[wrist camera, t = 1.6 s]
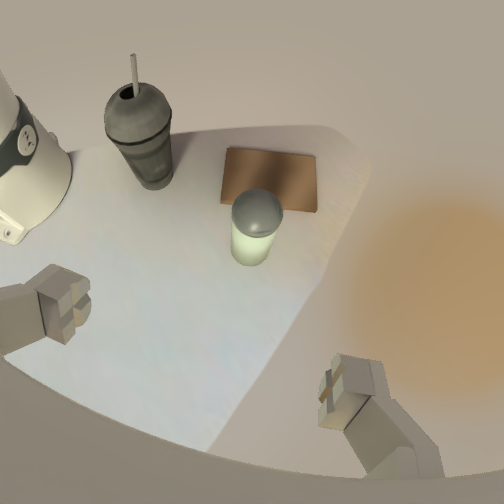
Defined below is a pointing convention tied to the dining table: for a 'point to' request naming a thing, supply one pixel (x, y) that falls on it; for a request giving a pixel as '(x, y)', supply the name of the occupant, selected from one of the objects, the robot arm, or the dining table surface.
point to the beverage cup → (141, 130)
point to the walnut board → (271, 177)
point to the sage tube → (254, 225)
